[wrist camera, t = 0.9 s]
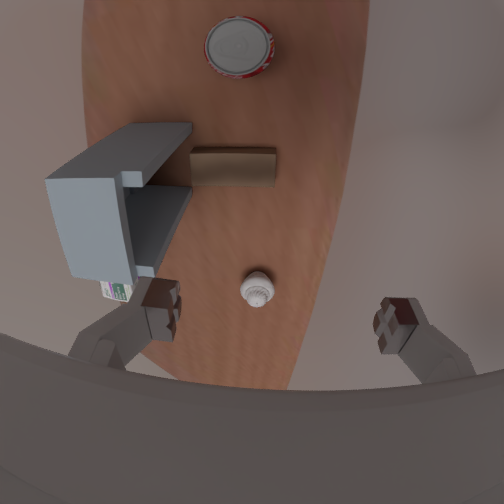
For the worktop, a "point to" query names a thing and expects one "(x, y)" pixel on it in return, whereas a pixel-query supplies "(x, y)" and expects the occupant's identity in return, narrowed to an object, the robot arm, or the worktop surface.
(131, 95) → the worktop surface
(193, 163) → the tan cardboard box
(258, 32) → the soda can
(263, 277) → the white ceramic jar
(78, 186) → the shelf
